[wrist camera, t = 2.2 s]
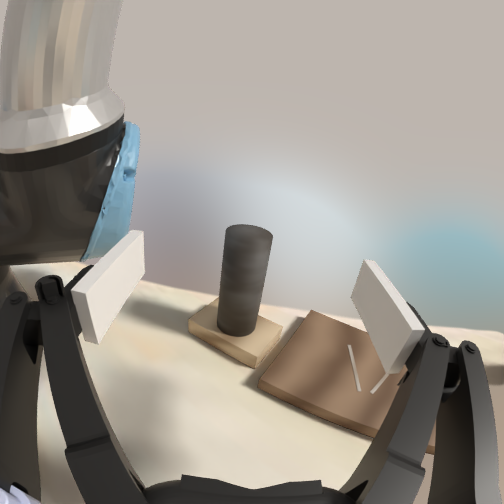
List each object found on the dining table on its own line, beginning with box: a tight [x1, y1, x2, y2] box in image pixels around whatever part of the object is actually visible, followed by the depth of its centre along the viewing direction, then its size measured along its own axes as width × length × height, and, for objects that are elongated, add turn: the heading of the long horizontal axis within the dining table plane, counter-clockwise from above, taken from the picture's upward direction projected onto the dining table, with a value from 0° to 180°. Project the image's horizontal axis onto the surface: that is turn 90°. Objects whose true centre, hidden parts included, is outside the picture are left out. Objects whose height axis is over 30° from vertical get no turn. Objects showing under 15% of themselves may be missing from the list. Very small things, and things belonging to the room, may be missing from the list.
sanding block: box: [188, 224, 283, 369], centre depth 28 cm, size 9×6×13 cm, turn 59°
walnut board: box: [257, 310, 436, 455], centre depth 25 cm, size 24×14×2 cm, turn 59°
